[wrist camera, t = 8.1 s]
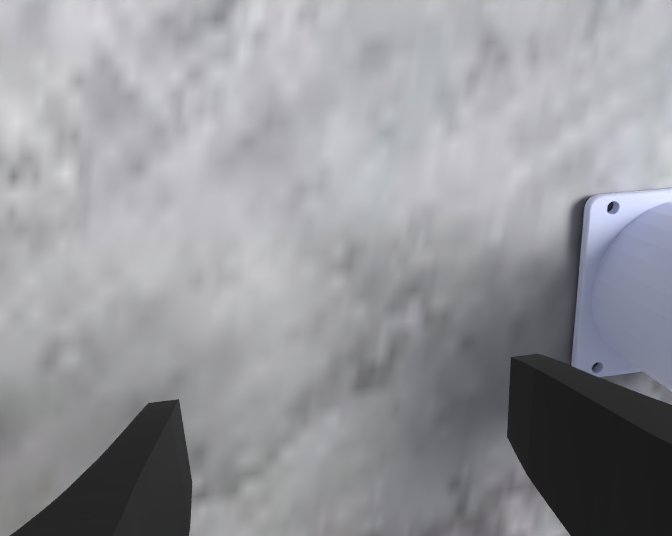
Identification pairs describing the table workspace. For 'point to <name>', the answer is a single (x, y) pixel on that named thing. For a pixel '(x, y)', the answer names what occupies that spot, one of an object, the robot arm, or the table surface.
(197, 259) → the table surface
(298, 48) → the table surface
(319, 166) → the table surface
